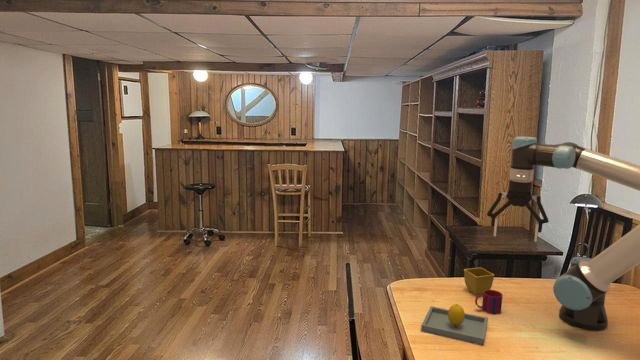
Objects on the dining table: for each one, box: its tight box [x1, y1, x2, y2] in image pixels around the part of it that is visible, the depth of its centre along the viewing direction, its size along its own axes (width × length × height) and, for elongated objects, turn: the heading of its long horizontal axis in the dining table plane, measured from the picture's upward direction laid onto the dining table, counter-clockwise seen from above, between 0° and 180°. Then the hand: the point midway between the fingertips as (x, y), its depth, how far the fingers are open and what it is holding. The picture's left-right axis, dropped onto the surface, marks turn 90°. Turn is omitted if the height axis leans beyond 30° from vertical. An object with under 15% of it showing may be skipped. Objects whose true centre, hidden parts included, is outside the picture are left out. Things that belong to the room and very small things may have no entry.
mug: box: [474, 289, 504, 315], centre depth 169 cm, size 7×10×7 cm
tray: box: [420, 305, 489, 346], centre depth 156 cm, size 20×16×2 cm
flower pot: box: [463, 267, 495, 296], centre depth 184 cm, size 9×9×9 cm
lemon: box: [448, 303, 465, 326], centre depth 155 cm, size 6×6×8 cm
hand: (514, 238), depth 163 cm, fingers open, 13 cm apart
